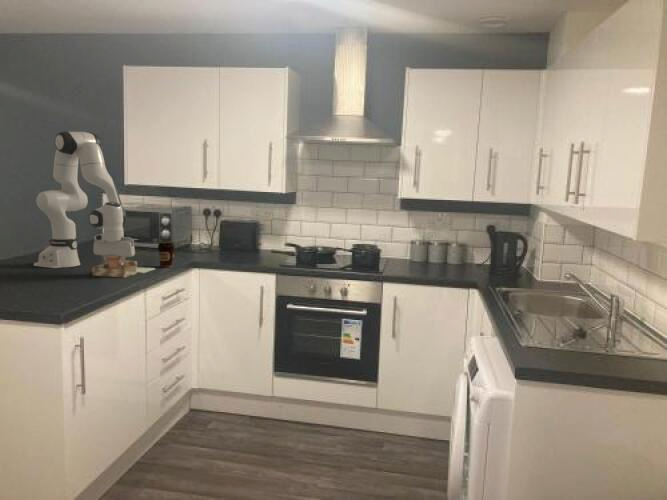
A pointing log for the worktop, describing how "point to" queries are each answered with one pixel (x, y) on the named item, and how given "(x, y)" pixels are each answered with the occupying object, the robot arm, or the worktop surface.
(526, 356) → the worktop surface
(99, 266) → the wooden compartment tray
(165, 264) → the dark brown jar
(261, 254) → the worktop surface
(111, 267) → the pot
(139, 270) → the mat
